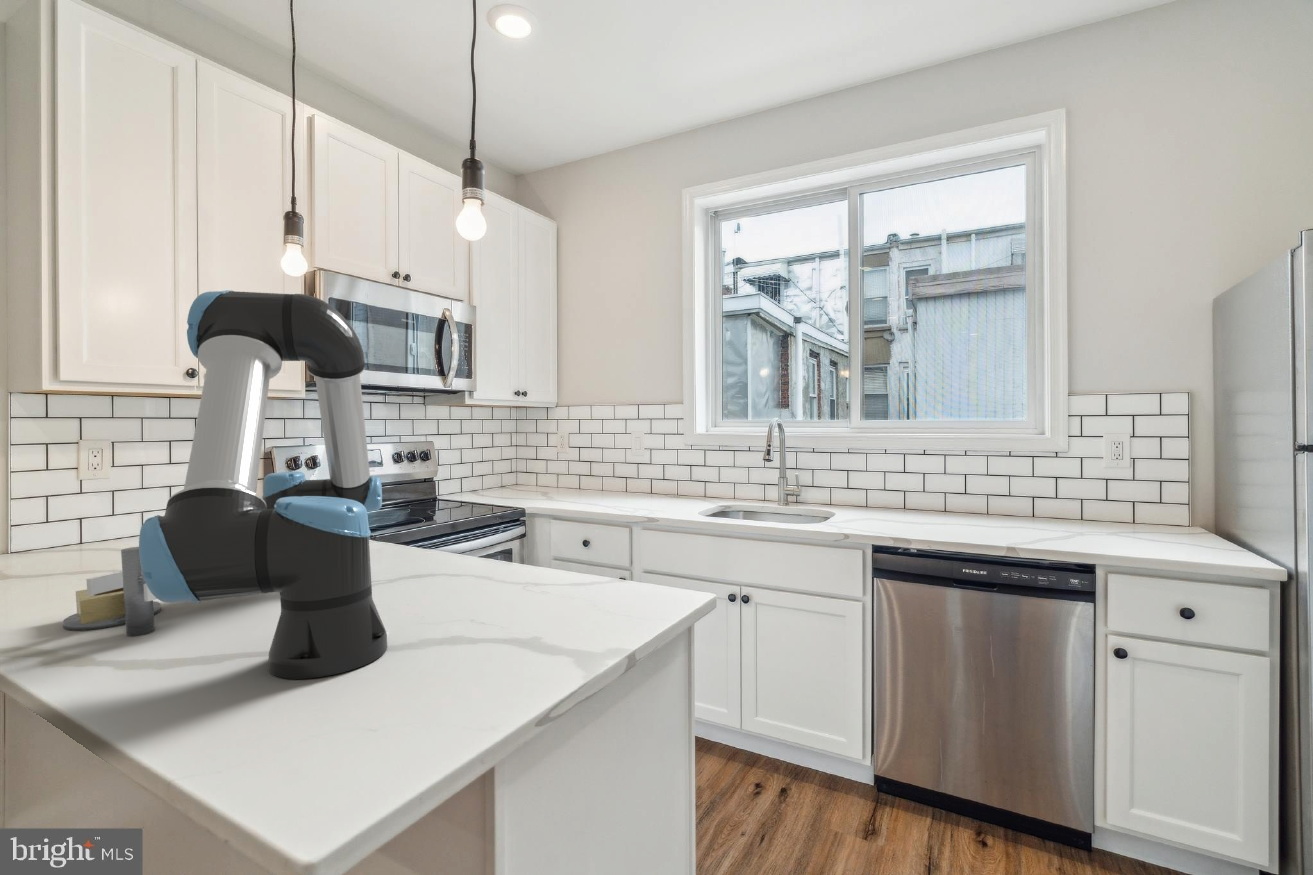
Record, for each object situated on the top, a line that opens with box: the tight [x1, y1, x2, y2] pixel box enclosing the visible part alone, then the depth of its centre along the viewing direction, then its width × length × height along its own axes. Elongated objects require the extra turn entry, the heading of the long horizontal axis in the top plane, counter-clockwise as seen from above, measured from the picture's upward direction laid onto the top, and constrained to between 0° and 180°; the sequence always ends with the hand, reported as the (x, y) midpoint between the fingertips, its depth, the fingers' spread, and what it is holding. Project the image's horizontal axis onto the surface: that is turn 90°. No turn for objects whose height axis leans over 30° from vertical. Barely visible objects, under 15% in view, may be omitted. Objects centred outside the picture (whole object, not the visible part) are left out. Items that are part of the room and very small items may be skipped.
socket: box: [62, 588, 162, 632], centre depth 109 cm, size 13×13×5 cm
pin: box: [120, 546, 156, 637], centre depth 101 cm, size 4×4×14 cm
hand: (116, 590), depth 98 cm, fingers open, 13 cm apart
